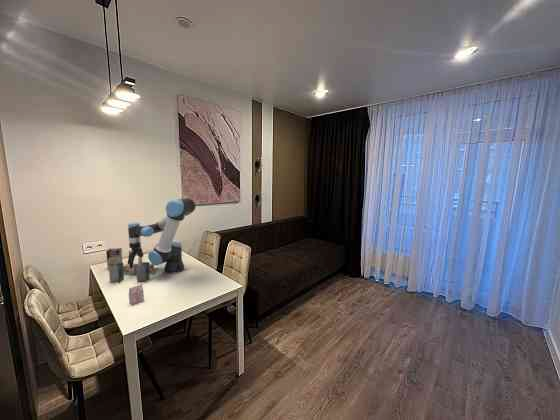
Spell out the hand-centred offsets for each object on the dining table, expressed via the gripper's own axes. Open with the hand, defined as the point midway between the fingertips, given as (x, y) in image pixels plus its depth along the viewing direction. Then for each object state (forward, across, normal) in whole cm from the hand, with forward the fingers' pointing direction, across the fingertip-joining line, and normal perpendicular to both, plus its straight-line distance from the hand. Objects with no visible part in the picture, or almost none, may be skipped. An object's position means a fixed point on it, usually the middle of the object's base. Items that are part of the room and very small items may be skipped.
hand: (136, 268), depth 180 cm
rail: (+2, 0, 0) cm, 2 cm away
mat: (+3, 0, 0) cm, 3 cm away
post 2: (+3, +16, +12) cm, 20 cm away
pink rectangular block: (+3, +46, +21) cm, 51 cm away
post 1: (+3, +16, -6) cm, 17 cm away
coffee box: (+3, -8, -20) cm, 22 cm away
